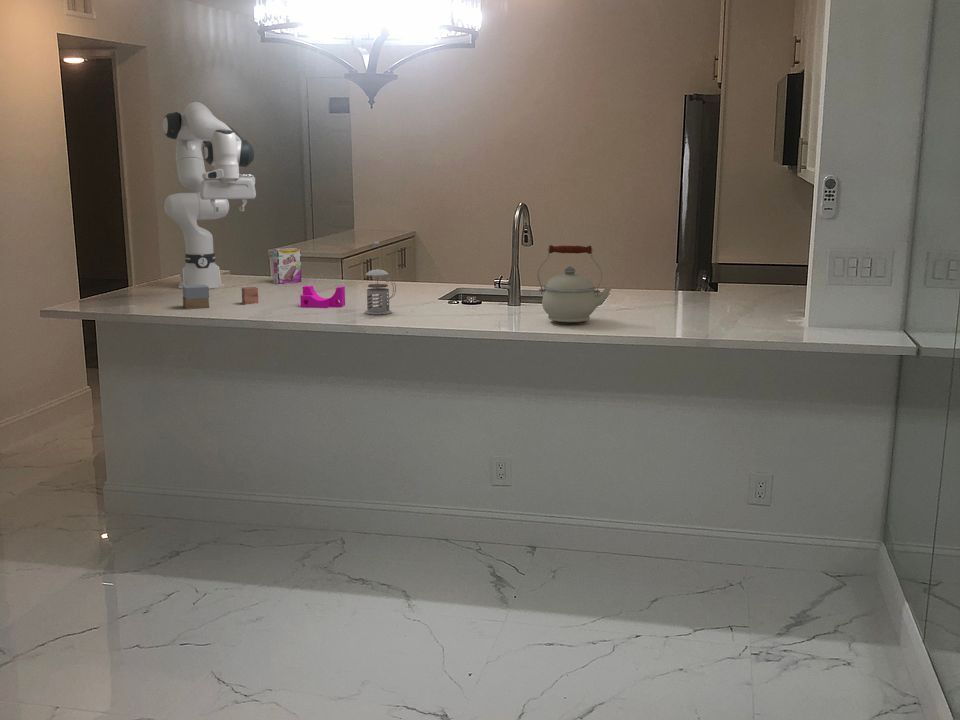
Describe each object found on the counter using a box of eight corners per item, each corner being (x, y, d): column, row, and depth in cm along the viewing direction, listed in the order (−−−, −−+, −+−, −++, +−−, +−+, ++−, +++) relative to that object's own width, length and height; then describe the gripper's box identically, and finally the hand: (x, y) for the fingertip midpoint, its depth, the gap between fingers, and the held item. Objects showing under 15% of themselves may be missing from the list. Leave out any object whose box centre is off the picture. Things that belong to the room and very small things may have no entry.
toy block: (300, 307, 345) (300, 287, 344) (307, 305, 351) (306, 285, 350) (339, 309, 342) (339, 288, 341) (345, 306, 348) (344, 286, 347)
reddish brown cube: (242, 303, 356) (241, 287, 355) (255, 302, 358) (254, 286, 357) (245, 304, 352) (244, 289, 350) (258, 304, 354) (257, 288, 352)
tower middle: (183, 296, 347) (182, 285, 346) (205, 295, 350) (204, 284, 349) (186, 299, 340) (185, 288, 339) (209, 297, 343) (208, 286, 342)
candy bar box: (279, 288, 397) (277, 249, 394) (273, 287, 401) (271, 249, 397) (302, 286, 404) (301, 248, 401) (296, 285, 408) (295, 247, 404)
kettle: (534, 322, 312) (535, 247, 307) (539, 314, 330) (540, 242, 325) (610, 324, 308) (612, 248, 303) (611, 315, 326) (613, 243, 321)
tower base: (183, 307, 347) (182, 296, 347) (205, 306, 351) (204, 295, 350) (186, 310, 340) (185, 299, 339) (209, 308, 344) (208, 297, 343)
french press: (372, 309, 340) (370, 240, 335) (401, 311, 336) (400, 241, 331) (359, 313, 331) (357, 242, 326) (389, 315, 327) (387, 243, 322)
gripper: (253, 174, 357) (255, 211, 359) (197, 174, 349) (200, 212, 351) (256, 173, 351) (258, 211, 354) (200, 174, 343) (203, 212, 345)
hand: (229, 211), depth 352 cm, fingers open, 8 cm apart
